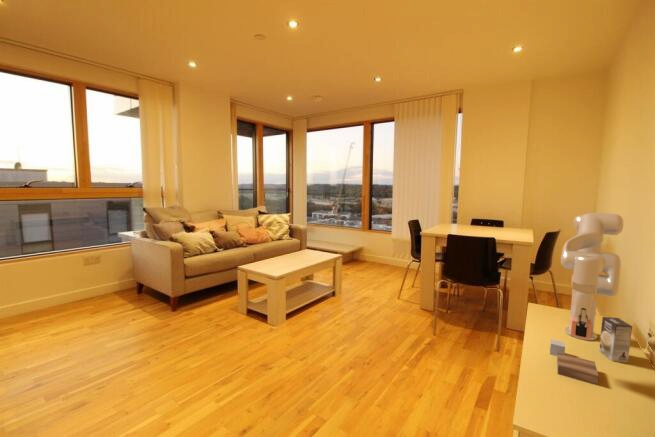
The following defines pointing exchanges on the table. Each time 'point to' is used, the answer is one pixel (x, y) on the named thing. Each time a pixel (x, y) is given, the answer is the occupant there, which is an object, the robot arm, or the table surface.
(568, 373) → the walnut block
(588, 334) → the terracotta cube
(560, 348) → the grey cube
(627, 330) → the coffee box
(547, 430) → the table surface
